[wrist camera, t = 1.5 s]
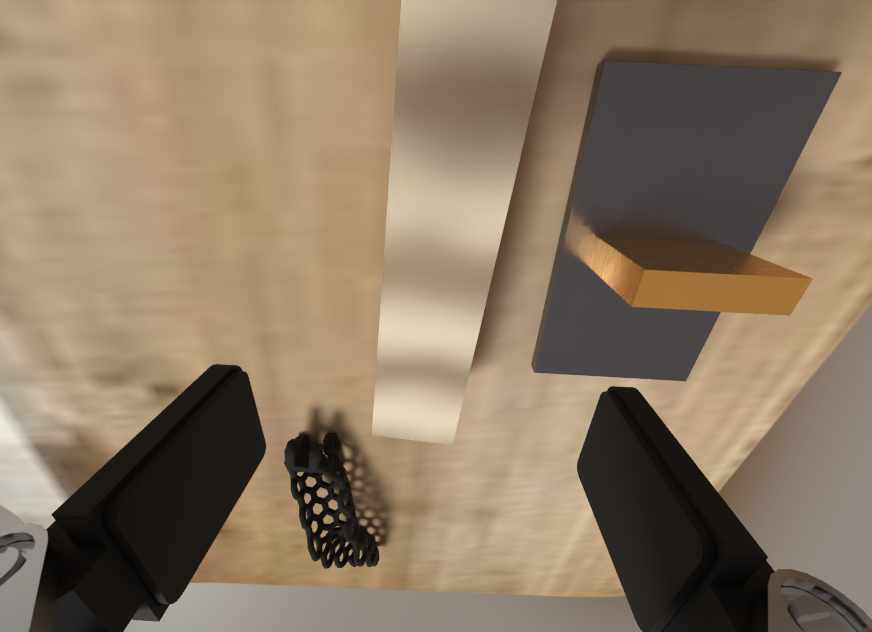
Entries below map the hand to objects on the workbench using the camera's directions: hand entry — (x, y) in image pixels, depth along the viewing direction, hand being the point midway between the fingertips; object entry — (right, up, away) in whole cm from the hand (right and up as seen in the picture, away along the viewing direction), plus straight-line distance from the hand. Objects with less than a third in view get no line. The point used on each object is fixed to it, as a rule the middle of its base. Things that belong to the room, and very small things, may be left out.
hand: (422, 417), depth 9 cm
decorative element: (-10, -16, +28) cm, 33 cm away
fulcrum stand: (+15, +7, +14) cm, 21 cm away
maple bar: (+1, +8, +14) cm, 16 cm away
